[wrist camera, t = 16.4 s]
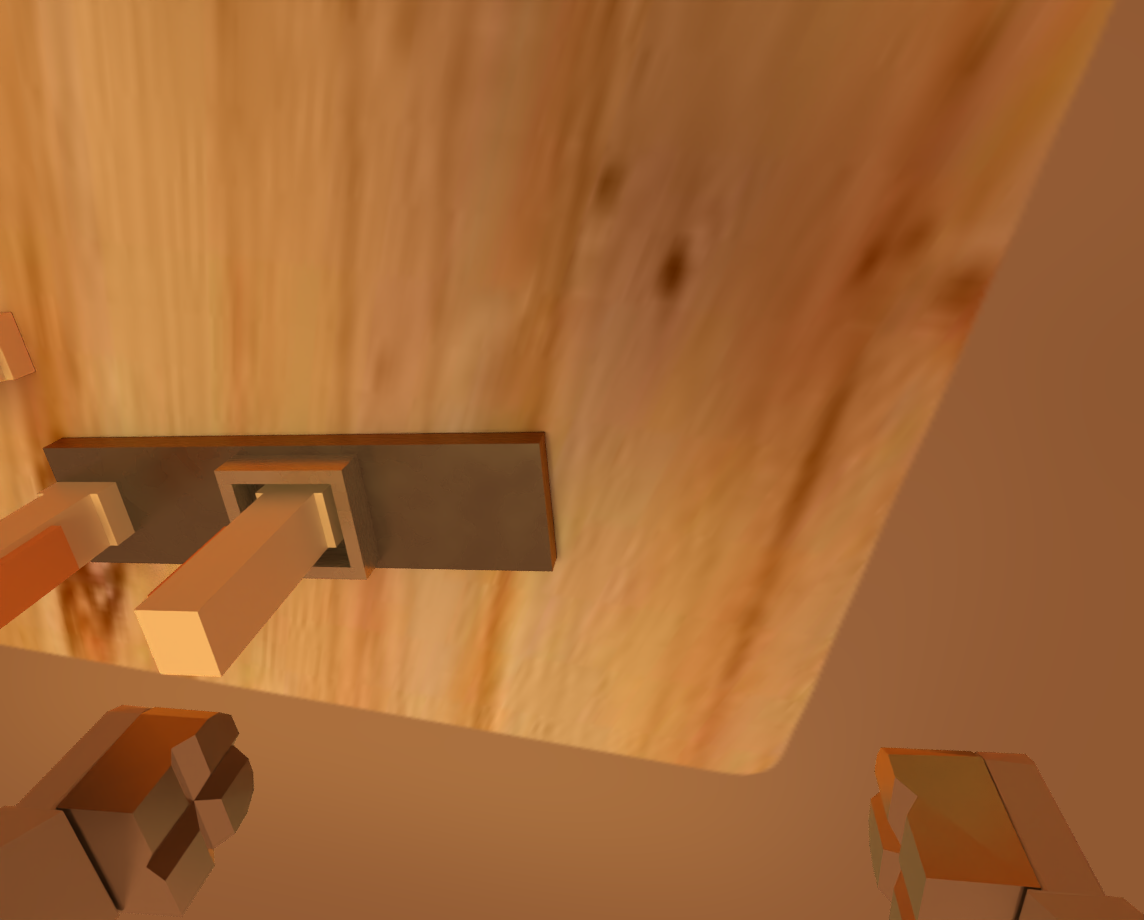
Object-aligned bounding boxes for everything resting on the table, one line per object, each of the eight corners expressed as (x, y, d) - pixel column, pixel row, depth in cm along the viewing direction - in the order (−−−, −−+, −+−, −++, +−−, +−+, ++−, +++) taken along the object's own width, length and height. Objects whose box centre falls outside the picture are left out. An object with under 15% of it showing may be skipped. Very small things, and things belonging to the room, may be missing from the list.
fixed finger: (57, 481, 44) (-147, 602, 33) (116, 481, 43) (-72, 604, 33) (78, 531, 45) (-111, 662, 35) (136, 532, 45) (-38, 665, 34)
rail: (62, 437, 44) (14, 462, 41) (544, 432, 39) (531, 460, 36) (107, 549, 48) (67, 580, 45) (556, 556, 43) (546, 592, 40)
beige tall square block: (267, 480, 42) (121, 609, 31) (334, 480, 41) (208, 611, 30) (282, 533, 43) (148, 673, 32) (347, 533, 42) (231, 677, 32)
